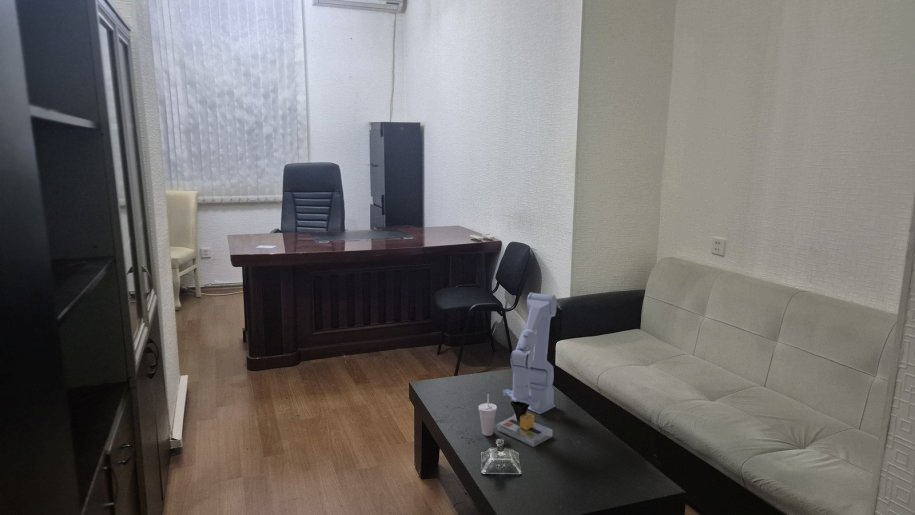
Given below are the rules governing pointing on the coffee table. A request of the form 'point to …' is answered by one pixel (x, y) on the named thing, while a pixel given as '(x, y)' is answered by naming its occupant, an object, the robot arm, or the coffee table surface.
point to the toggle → (527, 421)
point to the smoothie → (487, 417)
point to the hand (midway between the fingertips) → (520, 420)
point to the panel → (525, 431)
